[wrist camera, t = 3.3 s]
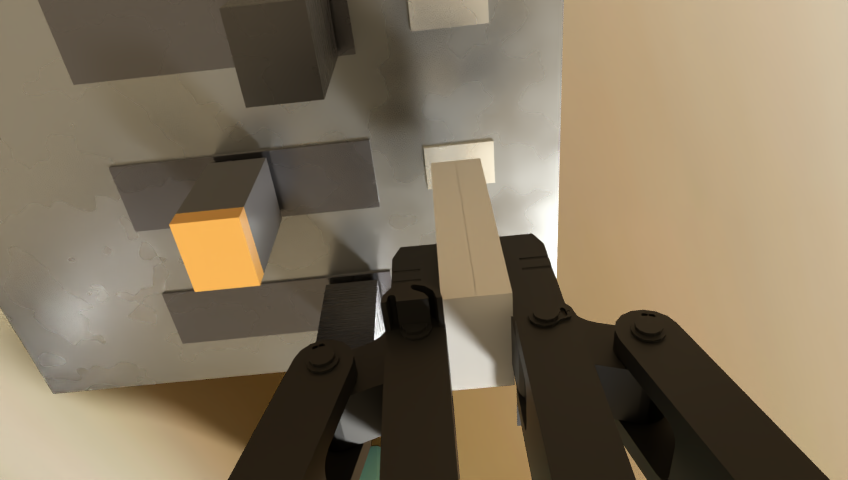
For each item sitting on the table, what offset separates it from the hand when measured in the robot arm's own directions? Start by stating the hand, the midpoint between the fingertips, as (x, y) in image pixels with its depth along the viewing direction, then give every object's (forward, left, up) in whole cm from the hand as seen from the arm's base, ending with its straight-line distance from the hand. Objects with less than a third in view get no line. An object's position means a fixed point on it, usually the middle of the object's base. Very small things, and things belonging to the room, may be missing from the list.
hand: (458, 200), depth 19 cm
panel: (-7, 0, -5) cm, 9 cm away
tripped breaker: (-7, 0, -2) cm, 8 cm away
